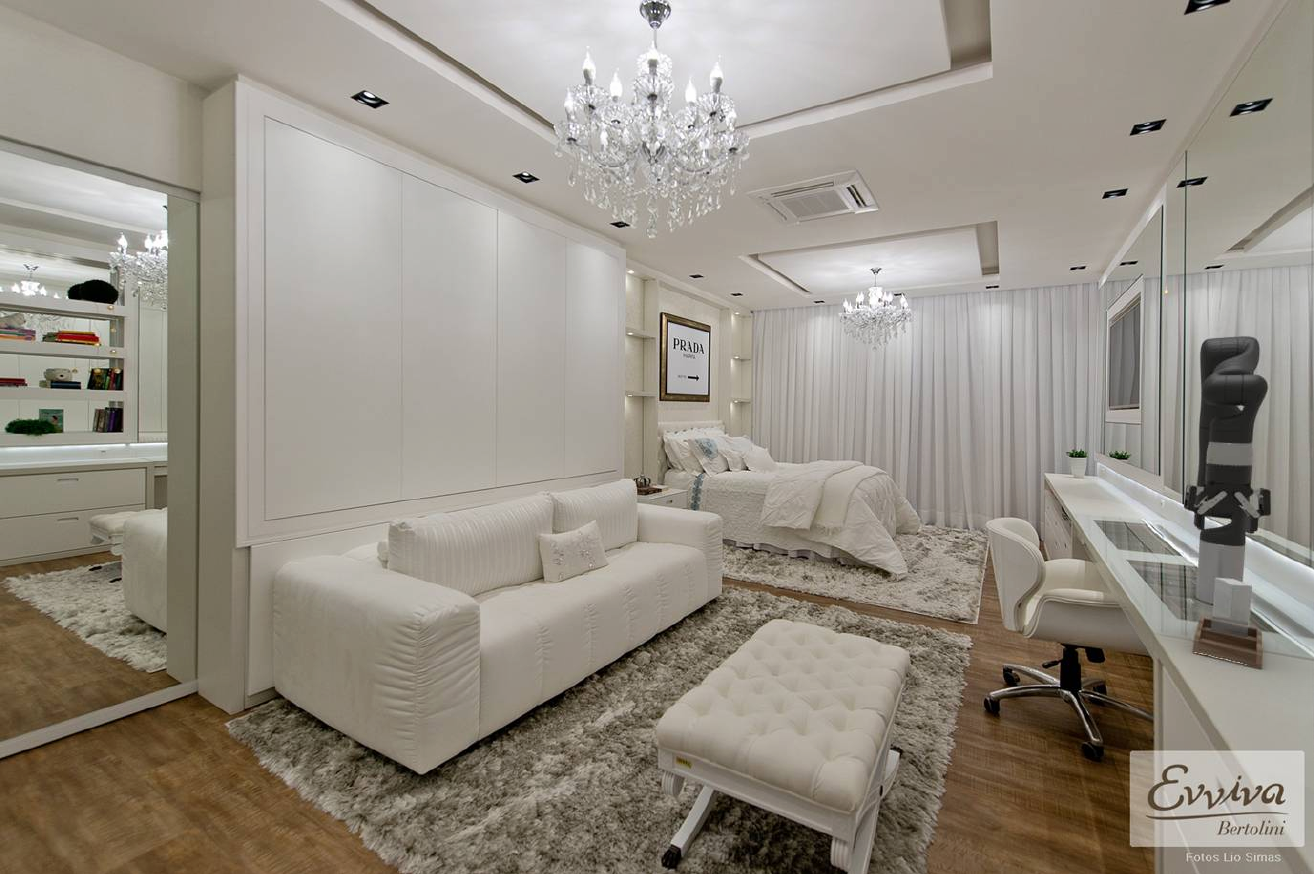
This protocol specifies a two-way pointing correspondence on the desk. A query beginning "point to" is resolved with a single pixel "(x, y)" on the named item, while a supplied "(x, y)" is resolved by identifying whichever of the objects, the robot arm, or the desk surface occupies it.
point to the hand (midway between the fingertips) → (1224, 531)
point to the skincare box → (1232, 599)
